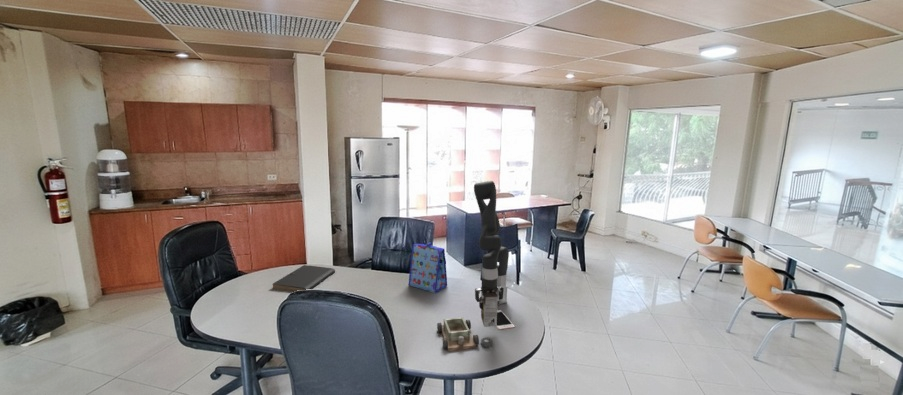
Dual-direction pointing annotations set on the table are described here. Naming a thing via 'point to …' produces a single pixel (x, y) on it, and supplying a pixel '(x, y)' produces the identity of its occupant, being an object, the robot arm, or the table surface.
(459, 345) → the chassis
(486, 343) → the loose wheel
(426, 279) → the lunch bag
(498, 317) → the cell phone
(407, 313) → the table surface
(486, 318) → the coffee box
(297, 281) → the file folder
